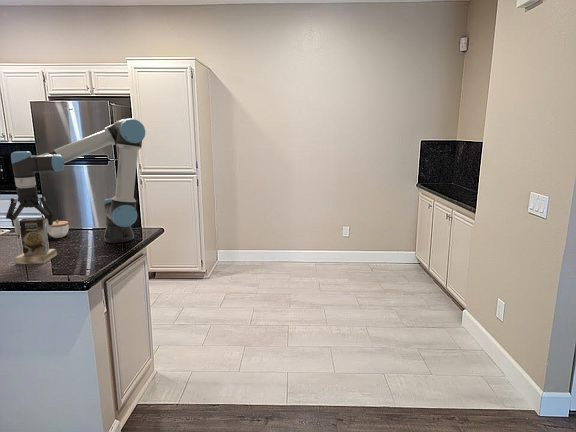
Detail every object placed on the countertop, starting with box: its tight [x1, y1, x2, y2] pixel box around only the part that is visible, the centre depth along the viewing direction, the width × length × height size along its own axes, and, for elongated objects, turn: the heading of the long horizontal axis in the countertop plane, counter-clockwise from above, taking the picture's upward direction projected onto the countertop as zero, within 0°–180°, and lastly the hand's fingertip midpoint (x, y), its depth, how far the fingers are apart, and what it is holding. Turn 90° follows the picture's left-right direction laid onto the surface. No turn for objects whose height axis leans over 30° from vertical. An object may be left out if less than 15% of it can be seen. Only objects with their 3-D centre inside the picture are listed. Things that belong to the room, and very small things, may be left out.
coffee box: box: [19, 216, 50, 256], centre depth 175 cm, size 9×6×16 cm
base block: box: [14, 248, 58, 265], centre depth 177 cm, size 12×12×3 cm
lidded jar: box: [48, 219, 70, 239], centre depth 216 cm, size 11×11×9 cm
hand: (34, 232), depth 175 cm, fingers open, 13 cm apart
